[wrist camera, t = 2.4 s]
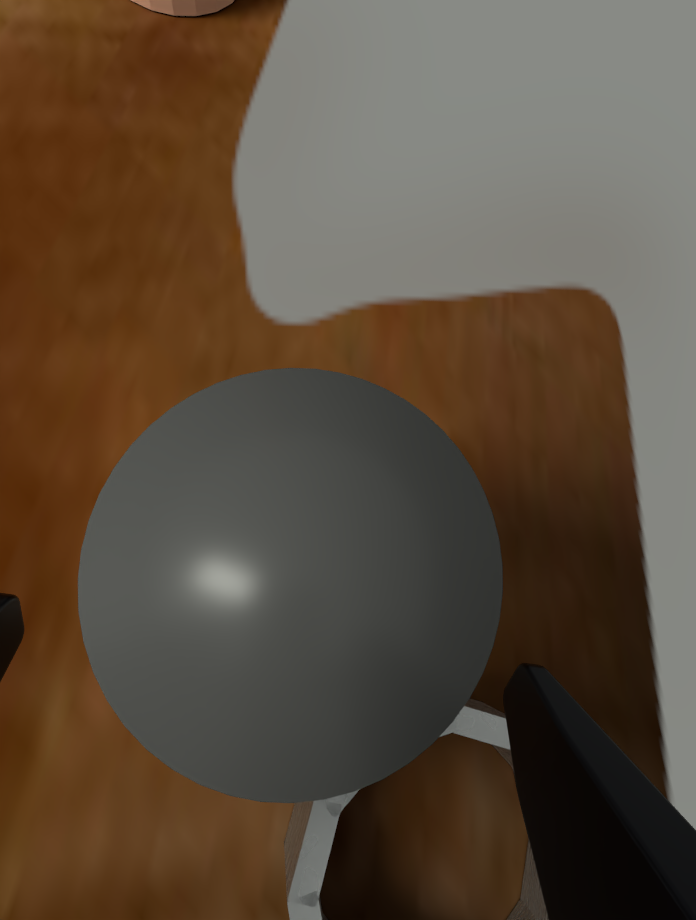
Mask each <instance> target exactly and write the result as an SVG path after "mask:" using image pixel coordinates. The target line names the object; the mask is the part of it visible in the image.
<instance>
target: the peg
mask: <svg viewBox="0 0 696 920" xmlns="http://www.w3.org/2000/svg"><path fill="white" fill-rule="evenodd" d="M502 593H503V577H502V558H501V551H500V543H499V537H498V533H497V529H496V525H495V521H494V517H493V514H492V511H491V508H490V506H489V503H488V501H487V498H486V495H485V493H484V490H483V488H482V486H481V485H480V483H479V481H478V479H477V477H476V475H475V473H474V471H473V469H472V468H471V466H470V465H469V463H468V462H467V460H466V459H465V457H464V456H463V454H462V453H461V451H460V450H459V449H458V447H457V446H456V445H455V444H454V443H453V442H452V440H451V439H450V438H449V437H448V436H447V435H446V433H445V432H444V431H443V430H442V429H441V428H440V427H439V426H438V425H436V424H435V423H434V422H433V421H432V420H431V419H430V418H429V417H428V416H427V415H425V414H424V413H423V412H421V411H420V410H419V409H417V408H416V407H415V406H413V405H412V404H410V403H409V402H408V401H406V400H405V399H403V398H401V397H399V396H397V395H396V394H394V393H392V392H390V391H388V390H387V389H385V388H383V387H380V386H378V385H375V384H373V383H370V382H368V381H366V380H363V379H360V378H356V377H353V376H349V375H346V374H342V373H338V372H332V371H325V370H319V369H304V368H285V369H273V370H264V371H259V372H254V373H249V374H244V375H240V376H237V377H234V378H231V379H228V380H225V381H222V382H219V383H216V384H214V385H212V386H210V387H208V388H206V389H203V390H201V391H199V392H197V393H195V394H193V395H191V396H190V397H188V398H187V399H185V400H183V401H182V402H180V403H179V404H177V405H176V406H174V407H172V408H171V409H170V410H168V411H167V412H166V413H165V414H163V415H162V416H161V417H160V418H159V419H157V420H156V421H155V422H154V423H152V424H151V425H150V426H149V427H148V428H147V429H146V430H145V431H144V432H143V433H142V434H141V435H140V436H139V437H138V438H137V440H136V441H135V442H134V443H133V444H132V445H131V446H130V447H129V449H128V450H127V451H126V453H125V454H124V455H123V457H122V458H121V459H120V461H119V462H118V463H117V465H116V466H115V467H114V469H113V471H112V473H111V474H110V476H109V478H108V480H107V481H106V483H105V485H104V487H103V489H102V490H101V492H100V494H99V497H98V499H97V502H96V504H95V507H94V509H93V512H92V514H91V517H90V519H89V522H88V526H87V530H86V534H85V538H84V542H83V546H82V549H81V557H80V566H79V575H78V608H79V617H80V623H81V629H82V635H83V641H84V645H85V648H86V651H87V654H88V657H89V660H90V664H91V667H92V670H93V673H94V675H95V677H96V679H97V681H98V683H99V685H100V687H101V689H102V691H103V693H104V695H105V697H106V699H107V701H108V702H109V704H110V705H111V707H112V708H113V710H114V711H115V713H116V714H117V716H118V717H119V718H120V720H121V721H122V723H123V724H124V726H125V727H126V728H127V729H128V730H129V731H130V732H131V733H132V734H133V735H134V737H135V738H136V739H137V740H138V741H139V742H140V743H141V744H142V745H143V746H144V747H145V748H146V749H147V750H148V751H149V752H151V753H152V754H153V755H154V756H156V757H157V758H158V759H160V760H161V761H162V762H163V763H165V764H166V765H167V766H169V767H170V768H171V769H172V770H174V771H176V772H178V773H180V774H182V775H183V776H185V777H187V778H189V779H191V780H192V781H194V782H196V783H198V784H200V785H202V786H205V787H208V788H210V789H213V790H216V791H219V792H221V793H224V794H227V795H230V796H234V797H239V798H244V799H250V800H255V801H260V802H279V803H298V802H307V801H316V800H324V799H328V798H332V797H336V796H339V795H343V794H347V793H351V792H354V791H357V790H359V789H361V788H364V787H366V786H368V785H371V784H373V783H375V782H378V781H380V780H382V779H384V778H386V777H387V776H389V775H391V774H392V773H394V772H395V771H397V770H399V769H400V768H402V767H404V766H405V765H407V764H409V763H410V762H411V761H412V760H414V759H415V758H416V757H417V756H418V755H420V754H421V753H422V752H423V751H425V750H426V749H427V748H428V747H429V746H431V745H432V744H433V743H434V742H435V741H436V740H437V739H438V737H439V736H440V735H441V734H442V733H443V732H444V731H445V730H446V729H447V728H448V727H449V726H450V724H451V723H452V722H453V721H454V720H455V718H456V717H457V715H458V714H459V712H460V711H461V710H462V708H463V707H464V705H465V704H466V703H467V701H468V700H469V698H470V697H471V695H472V693H473V691H474V689H475V687H476V685H477V683H478V681H479V680H480V678H481V676H482V674H483V672H484V669H485V666H486V664H487V661H488V658H489V656H490V653H491V650H492V648H493V644H494V640H495V636H496V632H497V628H498V624H499V619H500V611H501V602H502Z"/></svg>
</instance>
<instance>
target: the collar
mask: <svg viewBox="0 0 696 920" xmlns="http://www.w3.org/2000/svg"><path fill="white" fill-rule="evenodd" d="M450 733H455V734H459V735H462V736H465V737H469V738H472V739H476V740H479V741H482V742H486V743H489V744H492V746H493V747H494V748H495V749H496V750H497V751H498V752H499V753H500V754H501V756H502V757H503V758H504V759H505V760H506V761H507V762H508V763H509V764H510V765H511V767H512V768H513V763H512V756H511V750H510V743H509V736H508V730H507V723H506V716H505V714H504V713H502V712H500V711H498V710H496V709H494V708H493V707H491V706H489V705H487V704H485V703H483V702H480V701H477V700H474V699H470V698H469V700H468V701H467V703H466V704H465V705H464V707H463V708H462V710H461V711H460V712H459V714H458V715H457V717H456V718H455V720H454V721H453V722H452V723H451V724H450V726H449V727H448V728H447V729H446V730H445V731H444V732H443V733H442V734H441V735H440V736H439V737H441V736H444V735H447V734H450ZM513 772H514V770H513ZM359 790H360V789H359ZM359 790H357V791H354V792H351V793H347V794H343V795H339V796H336V797H332V798H328V799H324V800H316V801H307V802H298V803H295V805H294V809H293V812H292V816H291V819H290V823H289V827H288V830H287V834H286V837H285V841H284V849H285V869H286V889H287V904H288V910H289V916H290V920H328V919H327V918H326V916H325V915H324V914H323V911H322V906H321V900H320V891H321V887H322V883H323V879H324V875H325V871H326V867H327V863H328V859H329V855H330V851H331V847H332V843H333V839H334V835H335V831H336V827H337V823H338V819H339V815H340V812H341V811H342V810H343V809H344V807H345V806H346V805H347V804H348V803H349V801H350V800H351V799H352V798H353V797H354V796H355V794H356V793H357V792H358V791H359ZM507 920H549V919H548V915H547V911H546V907H545V903H544V899H543V895H542V891H541V886H540V882H539V878H538V874H537V870H536V866H535V862H534V858H533V854H532V850H531V846H530V842H529V841H528V848H527V855H526V863H525V870H524V877H523V884H522V891H521V899H520V900H519V902H518V903H517V905H516V906H515V908H514V909H513V911H512V912H511V914H510V915H509V917H508V918H507Z"/></svg>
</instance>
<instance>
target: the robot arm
mask: <svg viewBox="0 0 696 920" xmlns="http://www.w3.org/2000/svg"><path fill="white" fill-rule="evenodd" d="M23 635H24V623H23V617H22V612H21V606H20V601H19V598H18V597H17V596H16V595H12V594H5V593H0V681H1V680H2V678H3V676H4V674H5V672H6V670H7V668H8V666H9V664H10V662H11V660H12V658H13V657H14V655H15V653H16V651H17V649H18V647H19V645H20V643H21V641H22V638H23ZM503 703H504V710H505V716H506V723H507V730H508V736H509V743H510V750H511V756H512V763H513V770H514V776H515V782H516V787H517V792H518V797H519V801H520V805H521V809H522V813H523V818H524V822H525V826H526V830H527V834H528V838H529V842H530V846H531V850H532V854H533V858H534V862H535V866H536V870H537V874H538V878H539V882H540V886H541V891H542V895H543V899H544V903H545V907H546V911H547V915H548V919H549V920H696V830H695V829H694V828H693V827H692V826H691V825H690V824H689V823H688V822H687V820H686V819H685V818H684V817H683V816H682V815H681V814H680V813H679V812H678V811H677V810H676V809H675V807H674V806H673V805H672V804H671V803H670V802H669V801H668V800H667V799H666V798H665V797H664V796H663V795H662V793H661V792H660V791H659V790H658V789H657V788H656V787H655V786H654V785H653V784H652V783H651V782H650V781H649V779H648V778H647V777H646V776H645V775H644V774H643V773H642V772H641V771H640V770H639V769H638V768H637V766H636V765H635V764H634V763H633V762H632V761H631V760H630V759H629V758H628V757H627V756H626V755H625V754H624V752H623V751H622V750H621V749H620V748H619V747H618V746H617V745H616V744H615V743H614V742H613V741H612V740H611V738H610V737H609V736H608V735H607V734H606V733H605V732H604V731H603V730H602V729H601V728H600V727H599V725H598V724H597V723H596V722H595V721H594V720H593V719H592V718H591V717H590V716H589V715H588V714H587V713H586V711H585V710H584V709H583V708H582V707H581V706H580V705H579V704H578V703H577V702H576V701H575V700H574V699H573V697H572V696H571V695H570V694H569V693H568V692H567V691H566V690H565V689H564V688H563V687H562V686H561V684H560V683H559V682H558V681H557V680H556V679H555V678H554V677H553V676H552V675H551V674H550V673H549V672H548V670H546V669H545V668H544V667H543V666H540V665H535V664H527V663H522V664H520V665H519V666H518V667H517V669H516V671H515V672H514V674H513V676H512V677H511V679H510V681H509V682H508V684H507V686H506V688H505V690H504V695H503Z"/></svg>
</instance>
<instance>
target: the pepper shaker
mask: <svg viewBox="0 0 696 920" xmlns="http://www.w3.org/2000/svg"><path fill="white" fill-rule="evenodd" d="M131 1H133V2H135V3H137V4H139V5H141V6H143V7H146V8H148V9H150V10H152V11H157V12H161V13H165V14H169V15H174V16H200V15H204V14H209V13H213V12H217V11H219V10H221V9H223V8H224V7H226V6H228V5H230V4H232V3H233V2H234V0H131Z"/></svg>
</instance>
